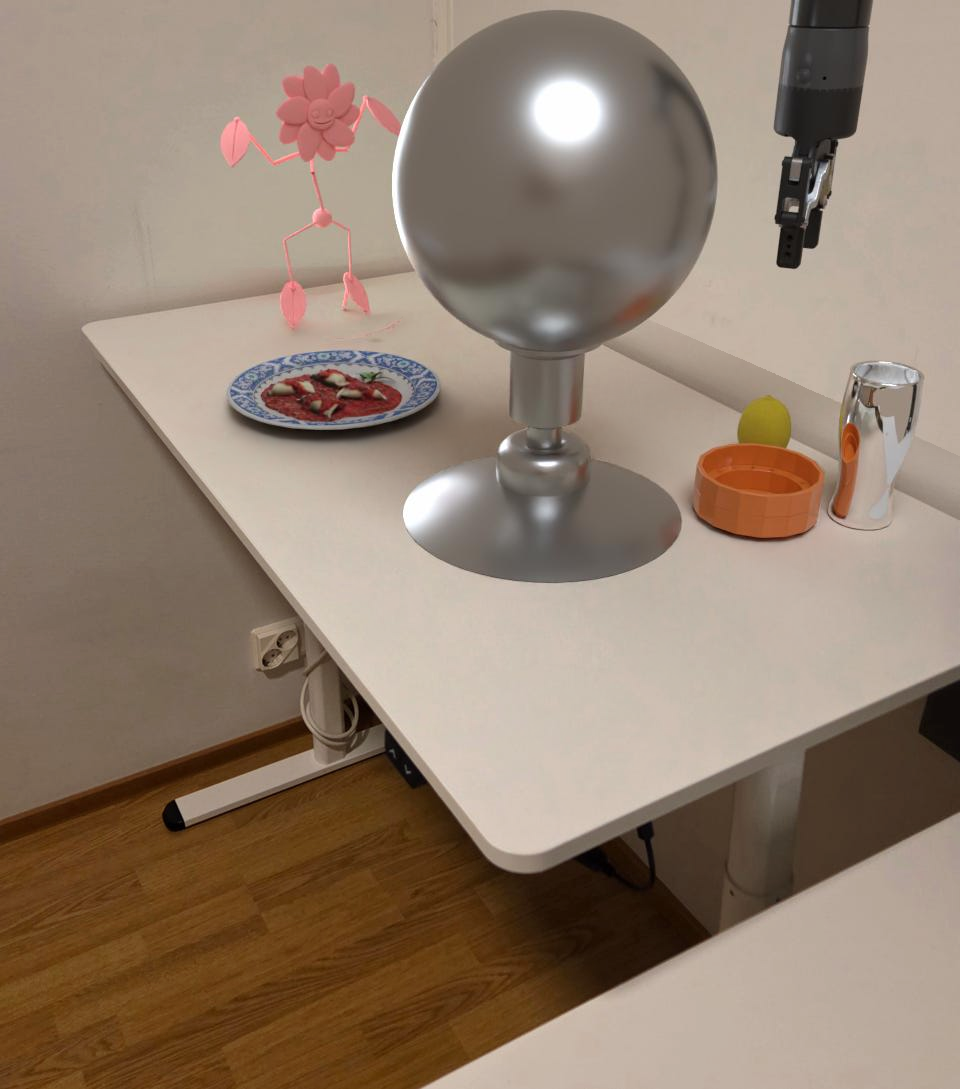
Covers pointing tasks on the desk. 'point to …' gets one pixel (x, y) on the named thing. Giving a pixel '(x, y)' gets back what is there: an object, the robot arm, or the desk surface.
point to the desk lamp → (551, 271)
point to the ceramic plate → (333, 389)
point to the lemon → (765, 423)
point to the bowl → (758, 490)
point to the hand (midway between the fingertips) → (797, 257)
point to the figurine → (313, 154)
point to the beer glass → (874, 440)
